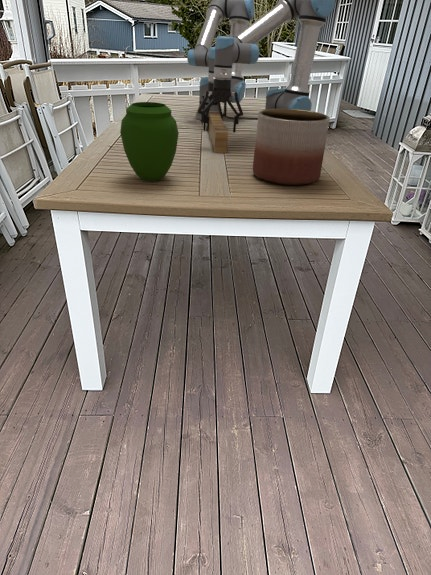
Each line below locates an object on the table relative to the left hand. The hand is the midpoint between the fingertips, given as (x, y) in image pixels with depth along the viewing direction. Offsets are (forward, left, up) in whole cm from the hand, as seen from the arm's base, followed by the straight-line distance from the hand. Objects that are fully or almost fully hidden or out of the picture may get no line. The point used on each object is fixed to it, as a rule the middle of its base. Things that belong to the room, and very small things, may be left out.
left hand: (213, 129), depth 221 cm
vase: (+53, +73, -1) cm, 90 cm away
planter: (+4, +83, -1) cm, 83 cm away
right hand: (+12, +36, +7) cm, 39 cm away
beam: (+6, +18, -1) cm, 19 cm away
